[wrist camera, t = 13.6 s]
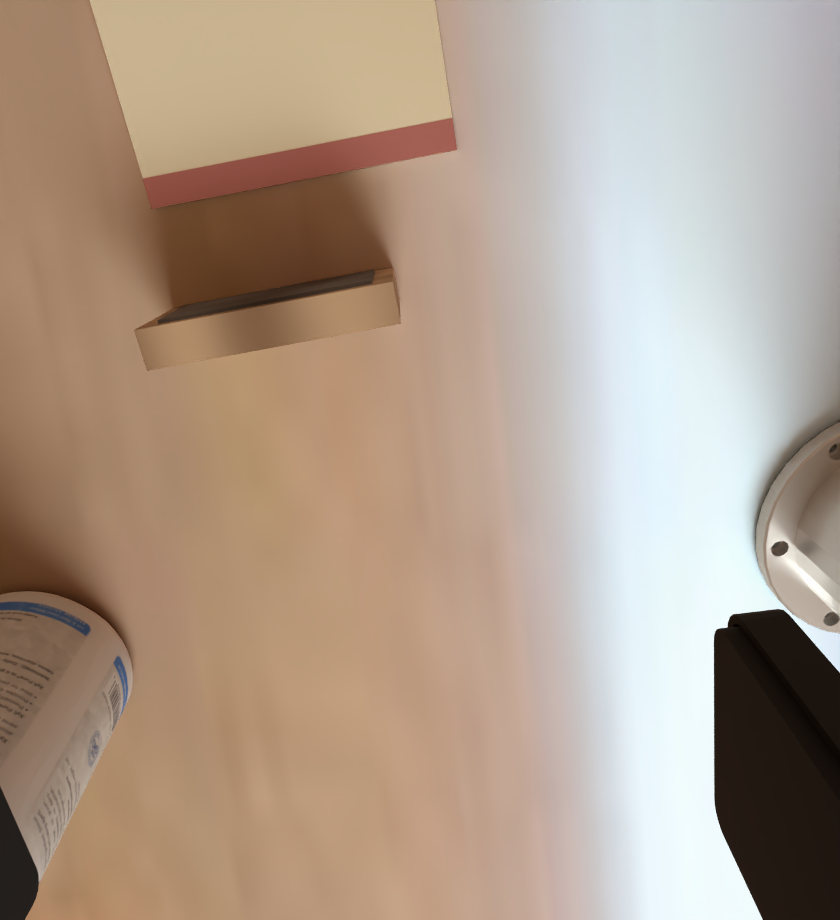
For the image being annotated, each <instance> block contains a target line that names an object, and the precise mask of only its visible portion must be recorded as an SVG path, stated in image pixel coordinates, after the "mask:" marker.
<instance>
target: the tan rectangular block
mask: <svg viewBox="0 0 840 920" xmlns="http://www.w3.org/2000/svg"><path fill="white" fill-rule="evenodd" d="M396 324H401V321H400V302H399V297H398V291H397V286H396V281H395V275H394V270H393V268H388V269H383V270H377V271H374V270H370V271H364V272H359V273H354V274H349V275H343V276H338V277H333V278H327V279H322V280H317V281H311V282H306V283H301V284H296V285H290V286H285V287H280V288H274V289H269V290H264V291H258V292H253V293H248V294H243V295H237V296H232V297H227V298H221V299H216V300H211V301H205V302H200V303H195V304H190V305H184V306H182V307H180V308H176V309H172V310H170V311H168V312H166V313H165V314H163V315H161V316H159V317H157V318H155V319H154V320H152V321H150V322H148V323H146V324H145V325H143V326H141V327H139V328H137V329H135V330H134V332H135V335H136V338H137V341H138V344H139V347H140V350H141V353H142V356H143V359H144V362H145V365H146V369H147V371H149V370H154V369H160V368H165V367H170V366H176V365H181V364H187V363H192V362H197V361H203V360H208V359H213V358H219V357H224V356H230V355H235V354H240V353H246V352H251V351H256V350H262V349H267V348H273V347H278V346H283V345H289V344H294V343H300V342H305V341H310V340H316V339H321V338H326V337H332V336H337V335H343V334H348V333H353V332H359V331H364V330H370V329H375V328H380V327H386V326H391V325H396Z"/></svg>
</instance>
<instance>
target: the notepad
mask: <svg viewBox="0 0 840 920" xmlns="http://www.w3.org/2000/svg"><path fill="white" fill-rule="evenodd" d="M90 3H91V7H92V10H93V13H94V17H95V20H96V23H97V27H98V30H99V33H100V37H101V40H102V43H103V47H104V50H105V53H106V57H107V60H108V64H109V67H110V70H111V74H112V77H113V80H114V84H115V87H116V90H117V94H118V97H119V100H120V104H121V107H122V110H123V114H124V117H125V120H126V124H127V127H128V131H129V134H130V137H131V141H132V144H133V147H134V151H135V154H136V157H137V161H138V164H139V167H140V171H141V174H142V177H143V181H144V185H145V188H146V191H147V195H148V198H149V201H150V205H151V208H152V209H155V208H160V207H165V206H171V205H176V204H181V203H186V202H191V201H196V200H201V199H207V198H212V197H217V196H222V195H227V194H232V193H238V192H243V191H248V190H253V189H258V188H263V187H269V186H274V185H279V184H284V183H289V182H294V181H300V180H305V179H310V178H315V177H320V176H325V175H331V174H336V173H341V172H346V171H351V170H356V169H362V168H367V167H372V166H377V165H382V164H387V163H393V162H398V161H403V160H408V159H413V158H418V157H424V156H429V155H434V154H439V153H444V152H449V151H455V150H457V147H456V140H455V134H454V127H453V120H452V114H451V107H450V100H449V93H448V86H447V80H446V73H445V66H444V59H443V52H442V46H441V39H440V32H439V25H438V18H437V12H436V5H435V0H90Z"/></svg>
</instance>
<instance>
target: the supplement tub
mask: <svg viewBox="0 0 840 920" xmlns="http://www.w3.org/2000/svg"><path fill="white" fill-rule="evenodd" d="M132 682H133V672H132V664H131V660H130V657H129V654H128V651H127V649H126V647H125V645H124V643H123V641H122V639H121V638H120V637H119V635H118V634H117V633H116V631H115V630H114V629H113V628H112V627H111V626H110V625H109V623H108V622H107V621H105V620H104V619H103V618H102V617H100V616H99V615H98V614H96V613H95V612H93V611H92V610H90V609H88V608H86V607H85V606H83V605H81V604H79V603H77V602H74V601H72V600H70V599H68V598H65V597H62V596H59V595H55V594H50V593H44V592H34V591H21V592H11V593H5V594H1V595H0V787H1V789H2V791H3V793H4V796H5V798H6V800H7V802H8V805H9V807H10V809H11V811H12V814H13V816H14V818H15V820H16V823H17V825H18V827H19V829H20V832H21V834H22V836H23V838H24V841H25V843H26V845H27V847H28V850H29V852H30V854H31V856H32V859H33V861H34V863H35V865H36V868H37V871H38V875H39V883H40V881H41V879H42V876H43V874H44V872H45V870H46V868H47V866H48V864H49V862H50V860H51V858H52V856H53V854H54V852H55V849H56V847H57V845H58V843H59V841H60V839H61V837H62V835H63V833H64V831H65V829H66V827H67V825H68V823H69V821H70V819H71V817H72V815H73V813H74V811H75V809H76V807H77V805H78V803H79V801H80V798H81V796H82V794H83V792H84V790H85V788H86V786H87V784H88V782H89V780H90V778H91V776H92V774H93V772H94V769H95V767H96V765H97V763H98V761H99V759H100V757H101V755H102V753H103V751H104V749H105V747H106V745H107V743H108V741H109V739H110V737H111V734H112V732H113V730H114V728H115V726H116V724H117V722H118V720H119V718H120V716H121V714H122V712H123V709H124V707H125V705H126V703H127V702H128V700H129V697H130V694H131V689H132Z"/></svg>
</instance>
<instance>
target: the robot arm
mask: <svg viewBox="0 0 840 920" xmlns="http://www.w3.org/2000/svg"><path fill="white" fill-rule="evenodd" d="M756 553H757V559H758V564H759V568H760V571H761V573H762V575H763V578H764V580H765V582H766V584H767V586H768V587H769V588H770V590H771V591H772V592H773V594H774V595H775V596H776V598H777V599H778V600H779V601H780V602H781V603H782V604H783V605H784V606H785V607H786V608H787V609H788V610H789V611H790V612H791V613H792V614H793V615H795V616H796V617H798V618H800V619H801V620H803V621H804V622H806V623H807V624H809V625H812V626H814V627H817V628H819V629H822V630H824V631H828V632H834V633H840V422H838V423H836V424H834V425H833V426H831V427H829V428H827V429H825V430H824V431H823V432H821V433H820V434H819V435H817V436H816V437H815V438H813V439H812V440H811V441H809V442H808V443H807V444H805V445H804V446H803V447H802V448H801V449H800V450H799V451H798V452H797V453H796V454H795V455H794V456H793V458H792V459H791V460H790V461H789V462H788V463H787V464H786V465H785V466H784V468H783V469H782V471H781V472H780V474H779V475H778V477H777V478H776V479H775V481H774V482H773V484H772V486H771V488H770V490H769V492H768V494H767V496H766V498H765V501H764V503H763V505H762V508H761V512H760V516H759V520H758V524H757V528H756ZM714 785H715V808H716V813H717V817H718V821H719V824H720V828H721V830H722V833H723V835H724V837H725V840H726V842H727V844H728V846H729V848H730V850H731V852H732V854H733V857H734V859H735V861H736V863H737V865H738V867H739V869H740V872H741V874H742V876H743V878H744V880H745V882H746V884H747V887H748V889H749V891H750V893H751V895H752V897H753V899H754V901H755V904H756V906H757V908H758V910H759V912H760V914H761V916H762V919H763V920H840V673H839V672H838V670H837V669H836V668H835V667H834V666H833V665H832V664H831V662H830V661H829V660H828V659H827V658H826V657H825V656H824V654H823V653H822V652H821V651H820V650H819V649H818V648H817V646H816V645H815V644H814V643H813V642H812V641H811V640H810V638H809V637H808V636H807V635H806V634H805V633H804V631H803V630H802V629H801V628H800V627H799V626H798V625H797V623H796V622H795V621H794V620H793V619H792V618H791V617H790V615H789V614H787V613H786V612H785V611H784V610H780V609H776V610H767V611H759V612H750V613H742V614H733V615H732V616H731V617H730V619H729V621H728V628H721V629H717V630H716V632H715V635H714ZM38 885H39V875H38V871H37V868H36V865H35V863H34V861H33V859H32V856H31V854H30V852H29V850H28V847H27V845H26V843H25V841H24V838H23V836H22V834H21V832H20V829H19V827H18V825H17V823H16V820H15V818H14V816H13V814H12V811H11V809H10V807H9V805H8V802H7V800H6V798H5V796H4V793H3V791H2V789H1V787H0V920H25V918H26V916H27V915H28V913H29V911H30V909H31V907H32V906H33V903H34V901H35V899H36V895H37V892H38Z"/></svg>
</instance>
